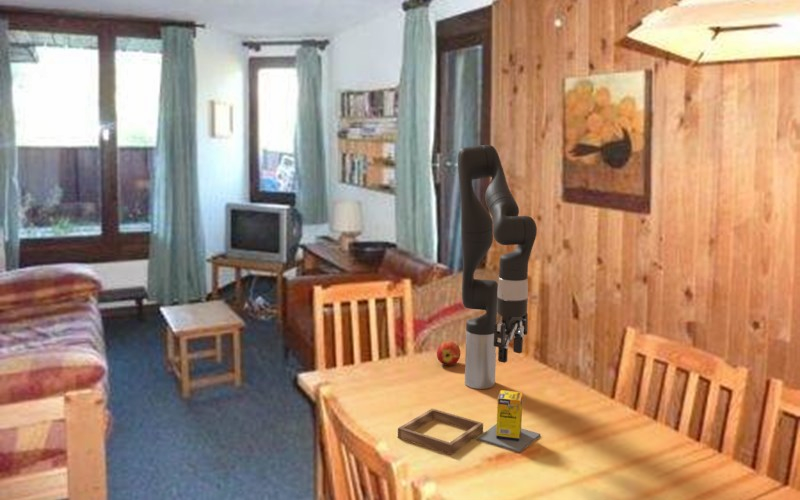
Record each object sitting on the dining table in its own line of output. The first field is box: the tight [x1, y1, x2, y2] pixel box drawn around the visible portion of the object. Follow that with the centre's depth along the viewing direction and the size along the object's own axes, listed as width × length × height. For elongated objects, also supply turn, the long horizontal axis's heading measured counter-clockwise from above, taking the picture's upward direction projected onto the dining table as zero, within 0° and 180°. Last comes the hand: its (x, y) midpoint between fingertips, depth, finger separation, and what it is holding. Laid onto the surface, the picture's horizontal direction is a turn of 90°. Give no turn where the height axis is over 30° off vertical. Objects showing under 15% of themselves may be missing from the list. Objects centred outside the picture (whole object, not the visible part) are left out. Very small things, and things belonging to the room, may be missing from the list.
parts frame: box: [397, 408, 484, 455], centre depth 178 cm, size 16×16×2 cm
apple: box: [436, 340, 461, 366], centre depth 232 cm, size 8×8×8 cm
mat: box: [476, 423, 541, 454], centre depth 176 cm, size 12×12×1 cm
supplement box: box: [496, 389, 524, 441], centre depth 176 cm, size 6×6×11 cm
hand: (510, 357), depth 174 cm, fingers open, 8 cm apart
